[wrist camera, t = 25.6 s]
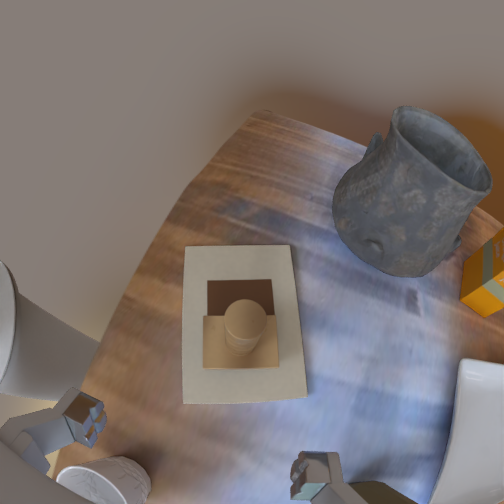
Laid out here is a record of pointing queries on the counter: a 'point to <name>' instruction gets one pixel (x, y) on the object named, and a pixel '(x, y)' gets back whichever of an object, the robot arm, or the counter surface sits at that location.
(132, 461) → the white cup
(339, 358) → the counter surface
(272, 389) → the cream rectangular board
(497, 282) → the orange juice
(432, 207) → the vessel
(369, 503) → the squeeze bottle
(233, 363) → the scrub brush
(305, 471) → the robot arm
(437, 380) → the counter surface
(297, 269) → the counter surface
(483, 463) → the square plate
